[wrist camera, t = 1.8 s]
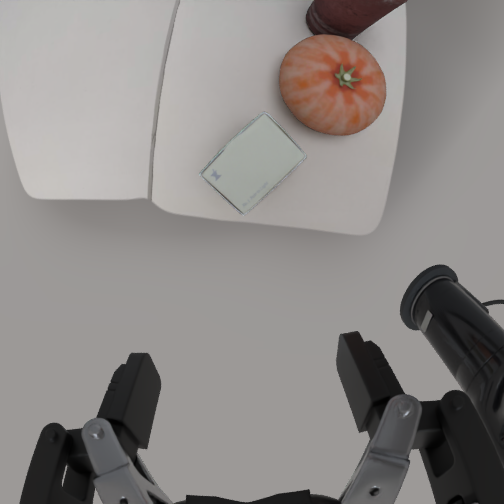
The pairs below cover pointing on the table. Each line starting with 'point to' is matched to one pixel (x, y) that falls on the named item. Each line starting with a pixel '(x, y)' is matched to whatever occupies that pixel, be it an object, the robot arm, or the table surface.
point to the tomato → (332, 84)
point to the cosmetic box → (253, 163)
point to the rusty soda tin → (347, 15)
